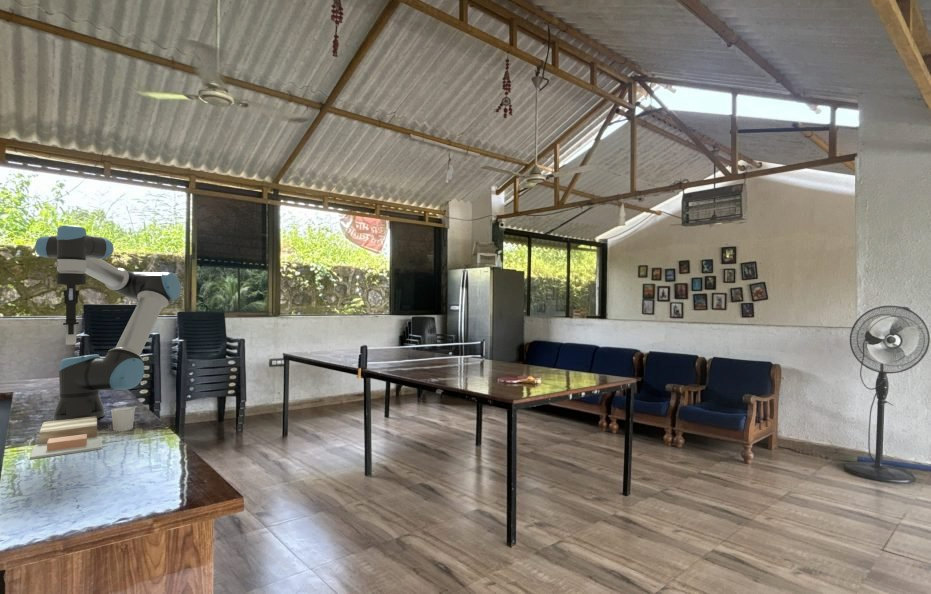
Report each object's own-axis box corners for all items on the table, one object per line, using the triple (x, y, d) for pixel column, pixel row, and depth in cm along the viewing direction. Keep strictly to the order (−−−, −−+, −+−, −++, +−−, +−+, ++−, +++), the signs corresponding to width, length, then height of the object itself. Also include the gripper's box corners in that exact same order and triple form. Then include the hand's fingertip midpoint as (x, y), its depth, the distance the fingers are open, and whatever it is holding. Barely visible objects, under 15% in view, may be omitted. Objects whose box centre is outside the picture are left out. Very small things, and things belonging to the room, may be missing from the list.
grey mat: (34, 447, 148) (34, 445, 148) (100, 438, 157) (100, 436, 157) (29, 459, 137) (29, 457, 137) (101, 448, 146) (101, 446, 146)
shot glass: (113, 427, 171) (113, 407, 171) (136, 425, 174) (136, 405, 174) (108, 432, 165) (108, 411, 165) (133, 430, 168) (133, 409, 168)
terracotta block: (46, 443, 142) (46, 451, 142) (86, 438, 148) (86, 445, 147) (48, 438, 147) (48, 446, 147) (86, 433, 152) (86, 441, 152)
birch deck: (43, 434, 162) (43, 422, 162) (96, 427, 170) (96, 416, 170) (39, 445, 149) (39, 432, 149) (97, 438, 158) (97, 425, 158)
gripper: (57, 273, 166) (57, 343, 166) (55, 271, 156) (55, 346, 156) (85, 274, 171) (85, 342, 171) (85, 272, 160) (85, 345, 160)
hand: (70, 344), depth 163 cm, fingers closed
